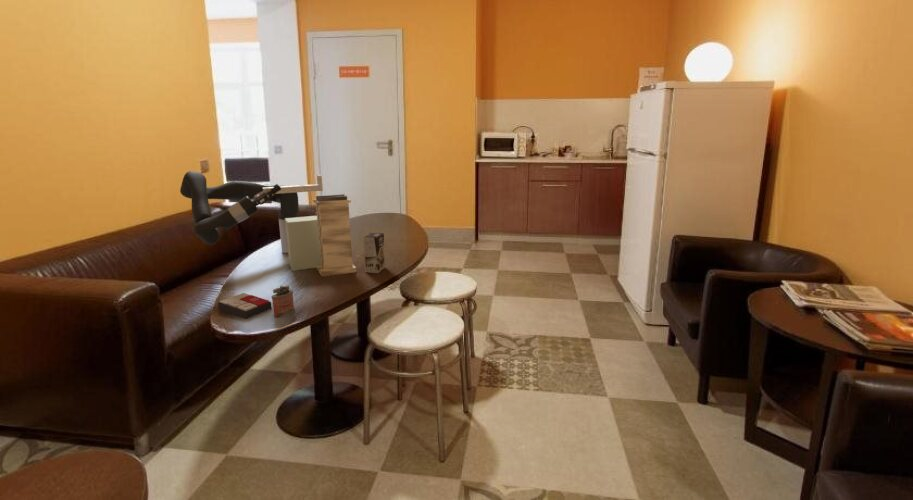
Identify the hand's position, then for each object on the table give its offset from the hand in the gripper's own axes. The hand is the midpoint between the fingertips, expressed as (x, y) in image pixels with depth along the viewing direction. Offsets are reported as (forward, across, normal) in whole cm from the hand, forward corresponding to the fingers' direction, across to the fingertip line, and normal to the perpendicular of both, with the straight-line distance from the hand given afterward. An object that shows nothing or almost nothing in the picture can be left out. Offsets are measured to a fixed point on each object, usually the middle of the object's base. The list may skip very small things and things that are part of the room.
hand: (279, 186), depth 209 cm
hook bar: (+3, 0, -5) cm, 6 cm away
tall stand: (-1, +6, -43) cm, 44 cm away
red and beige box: (-36, +38, -24) cm, 57 cm away
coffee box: (+12, +12, -51) cm, 54 cm away
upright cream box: (-10, -8, -38) cm, 40 cm away
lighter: (-25, +48, -29) cm, 62 cm away
